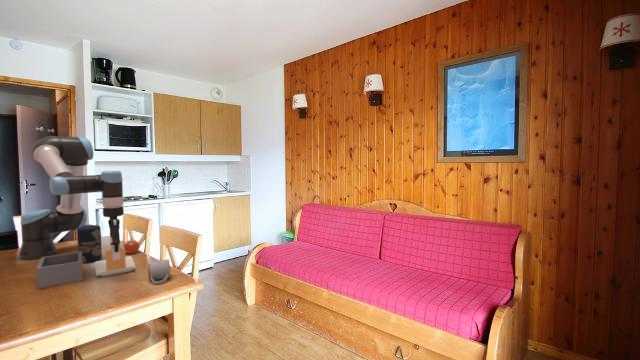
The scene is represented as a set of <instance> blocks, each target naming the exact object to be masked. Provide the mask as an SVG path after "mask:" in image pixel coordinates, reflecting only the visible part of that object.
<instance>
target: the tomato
mask: <svg viewBox="0 0 640 360" xmlns="http://www.w3.org/2000/svg"><path fill="white" fill-rule="evenodd" d="M123 248H125V254H128V255H134V254H136V253H137V252H138V251H139V249H140V242H138V241H137V240H136V239H133V238H132V237H131V238H130V239H129V240H127V241H126V242H125V243H124V245H123Z"/></svg>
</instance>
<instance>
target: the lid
mask: <svg viewBox="0 0 640 360" xmlns="http://www.w3.org/2000/svg"><path fill="white" fill-rule="evenodd" d="M120 257H121V259H117V260H113V252H112V249H111V248H110V249H105V259H103V260H96V261H94V266H95V267H94V268H95V276H96V277H98V276H100V277H101V278H102V277H107V276H113V275H118V274H125V273H129V272H130V273H131V272H132V270H136V269H137V268H136V267H137V266H136V263H135V261H134V260H133V257H132V256H131V255H130V256H129V255H128V256H126V252H125V248H124V247H120Z"/></svg>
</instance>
